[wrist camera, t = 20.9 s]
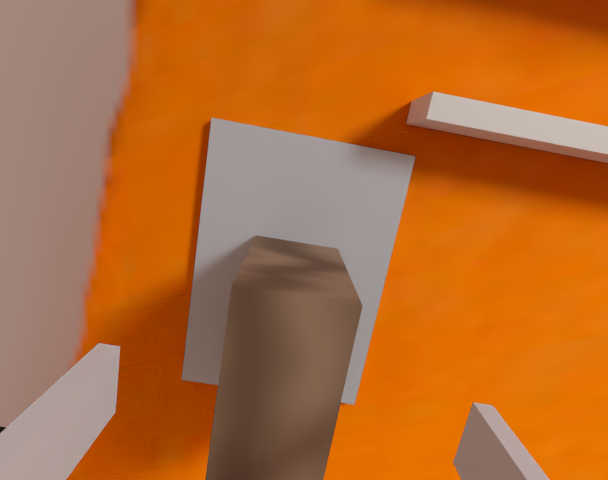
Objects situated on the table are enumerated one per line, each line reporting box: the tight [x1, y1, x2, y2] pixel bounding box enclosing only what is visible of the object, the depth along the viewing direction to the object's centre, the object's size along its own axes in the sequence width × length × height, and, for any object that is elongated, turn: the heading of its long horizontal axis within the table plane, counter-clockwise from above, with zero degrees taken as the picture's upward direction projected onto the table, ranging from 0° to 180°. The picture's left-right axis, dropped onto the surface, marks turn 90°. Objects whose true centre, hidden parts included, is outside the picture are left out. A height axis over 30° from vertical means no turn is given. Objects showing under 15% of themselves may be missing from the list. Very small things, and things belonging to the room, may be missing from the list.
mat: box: [182, 118, 416, 405], centre depth 27 cm, size 20×14×1 cm
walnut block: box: [205, 235, 362, 480], centre depth 22 cm, size 6×12×10 cm, turn 170°
